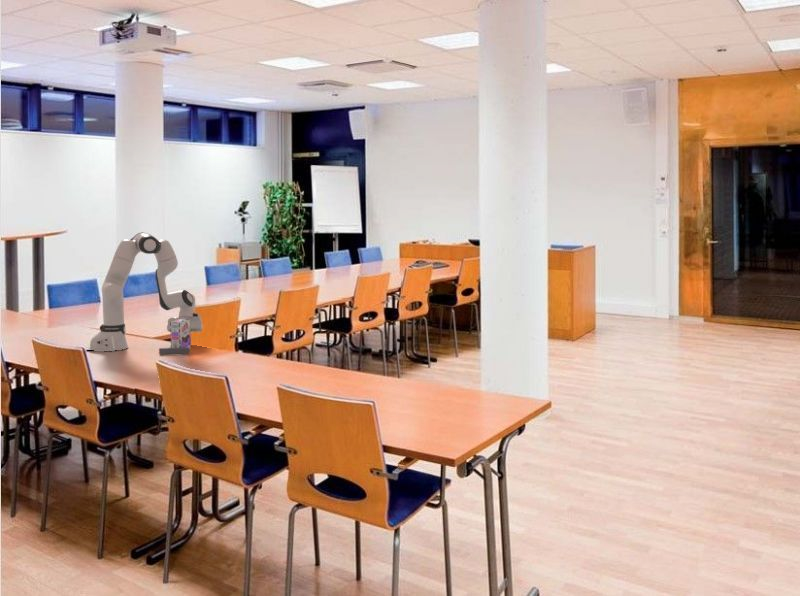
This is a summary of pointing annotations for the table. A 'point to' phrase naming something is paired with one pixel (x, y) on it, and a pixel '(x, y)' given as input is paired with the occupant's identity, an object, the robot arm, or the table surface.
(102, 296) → the robot arm
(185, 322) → the candy box
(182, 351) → the slide guide
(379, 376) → the table surface
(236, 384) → the table surface
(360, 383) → the table surface
